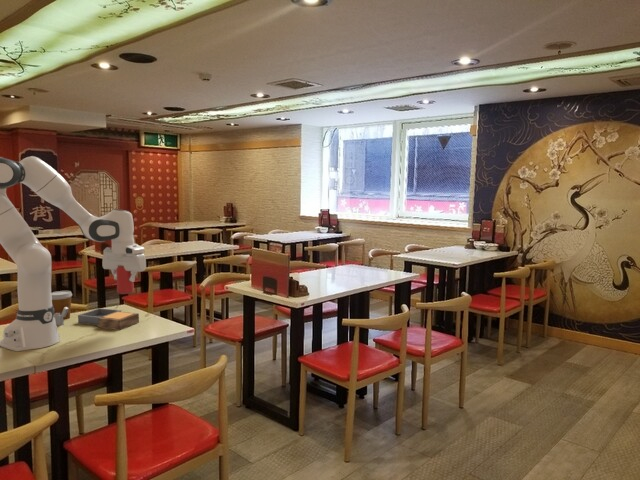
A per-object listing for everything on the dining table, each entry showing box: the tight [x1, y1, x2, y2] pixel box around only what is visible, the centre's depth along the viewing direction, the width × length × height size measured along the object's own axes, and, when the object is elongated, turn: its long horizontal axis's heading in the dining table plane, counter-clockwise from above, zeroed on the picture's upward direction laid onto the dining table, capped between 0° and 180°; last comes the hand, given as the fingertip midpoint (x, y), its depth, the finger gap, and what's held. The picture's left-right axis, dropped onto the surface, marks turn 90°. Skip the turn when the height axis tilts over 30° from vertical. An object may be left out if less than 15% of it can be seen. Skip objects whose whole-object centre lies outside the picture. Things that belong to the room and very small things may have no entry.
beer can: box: [116, 265, 135, 295], centre depth 202 cm, size 7×7×12 cm
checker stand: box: [97, 311, 140, 331], centre depth 210 cm, size 12×12×4 cm
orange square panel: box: [103, 311, 134, 320], centre depth 209 cm, size 9×9×1 cm
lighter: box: [53, 307, 69, 327], centre depth 209 cm, size 7×2×8 cm, turn 83°
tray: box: [77, 307, 122, 326], centre depth 217 cm, size 13×13×4 cm
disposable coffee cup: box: [51, 290, 73, 321], centre depth 219 cm, size 10×10×12 cm
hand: (124, 280), depth 202 cm, fingers closed on beer can, 6 cm apart
